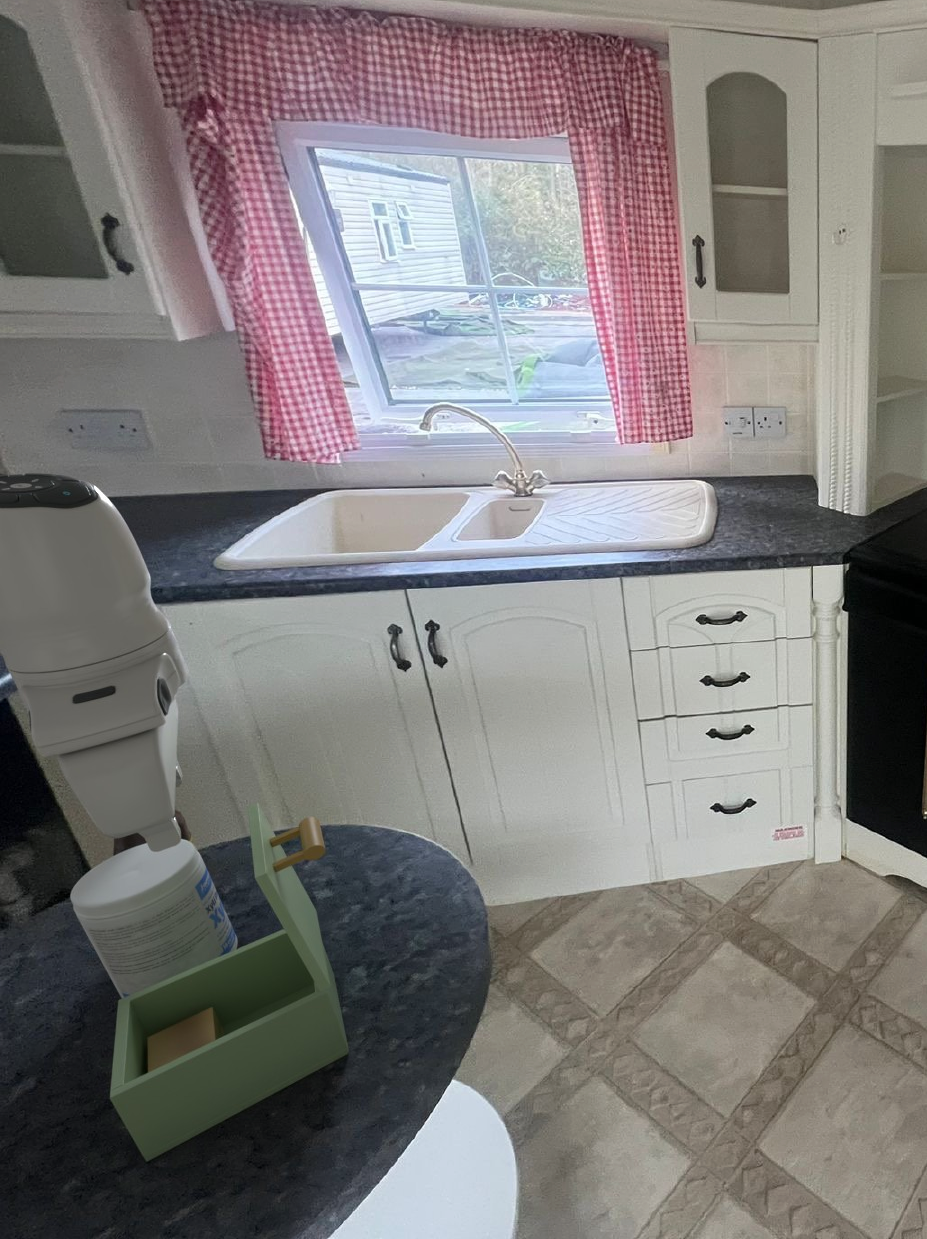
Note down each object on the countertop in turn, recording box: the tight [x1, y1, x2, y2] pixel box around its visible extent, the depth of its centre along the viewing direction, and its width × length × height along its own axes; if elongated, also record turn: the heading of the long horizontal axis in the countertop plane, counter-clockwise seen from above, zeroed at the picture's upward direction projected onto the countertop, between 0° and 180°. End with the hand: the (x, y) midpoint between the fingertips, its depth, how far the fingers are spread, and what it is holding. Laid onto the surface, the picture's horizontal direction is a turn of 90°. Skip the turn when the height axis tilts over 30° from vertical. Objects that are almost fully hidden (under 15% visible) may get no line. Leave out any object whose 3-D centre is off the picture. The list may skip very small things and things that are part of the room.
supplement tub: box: [69, 839, 239, 999], centre depth 79 cm, size 10×10×15 cm
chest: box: [109, 928, 350, 1162], centre depth 72 cm, size 15×12×9 cm
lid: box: [247, 802, 330, 992], centre depth 73 cm, size 15×12×5 cm
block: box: [147, 1007, 225, 1073], centre depth 71 cm, size 5×5×5 cm
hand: (169, 812), depth 64 cm, fingers open, 8 cm apart
